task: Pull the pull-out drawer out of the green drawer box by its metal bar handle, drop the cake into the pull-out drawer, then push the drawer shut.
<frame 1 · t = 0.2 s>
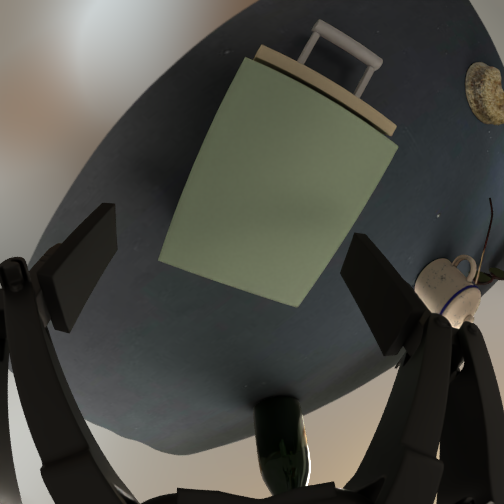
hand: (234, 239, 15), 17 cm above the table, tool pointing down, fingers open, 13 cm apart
cake: (483, 92, 25), on the table
pull-out drawer: (295, 137, 24), point 5 cm above the table, slide at 0.5 cm
green wine bottle: (276, 405, 55), on the table
green drawer box: (265, 173, 30), on the table
teacup with lid: (436, 271, 40), on the table
sunglasses: (494, 235, 38), on the table
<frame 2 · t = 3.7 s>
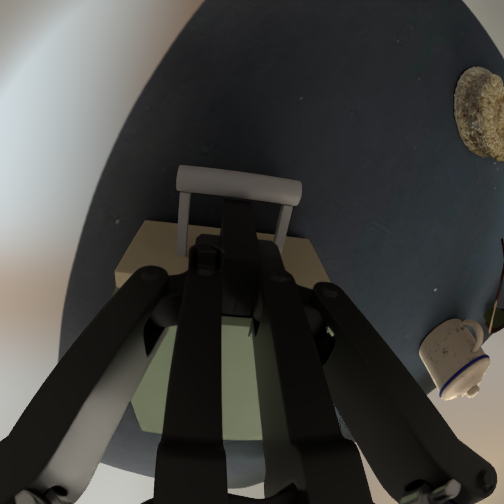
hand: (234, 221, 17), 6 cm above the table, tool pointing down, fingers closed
cake: (481, 111, 18), on the table
pull-out drawer: (219, 316, 22), point 5 cm above the table, slide at 1.1 cm, touching gripper
green drawer box: (214, 325, 29), on the table
teacup with lid: (443, 330, 34), on the table
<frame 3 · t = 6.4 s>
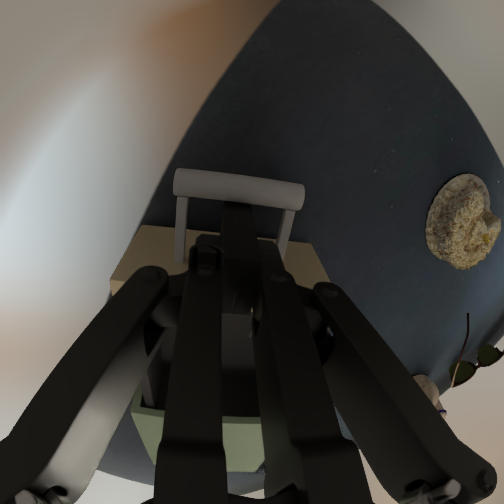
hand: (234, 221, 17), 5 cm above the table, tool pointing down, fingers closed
cake: (457, 217, 23), on the table
pull-out drawer: (218, 323, 21), point 5 cm above the table, slide at 13.1 cm, touching gripper
green drawer box: (207, 392, 34), on the table
teacup with lid: (408, 383, 39), on the table
sunglasses: (479, 329, 34), on the table
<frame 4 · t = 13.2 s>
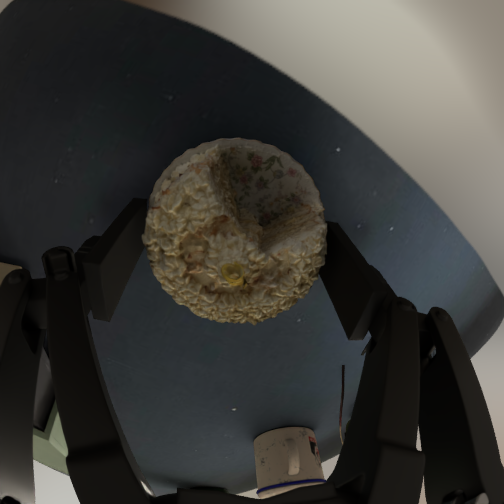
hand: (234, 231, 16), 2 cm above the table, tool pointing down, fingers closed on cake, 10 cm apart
cake: (234, 225, 16), point 1 cm above the table, touching gripper
green wine bottle: (208, 489, 51), on the table
green drawer box: (49, 398, 27), on the table
teacup with lid: (284, 433, 33), on the table
when the fingers open (9 cm above the table, at t = 19.6 s): cake drops 6 cm, resting on pull-out drawer.
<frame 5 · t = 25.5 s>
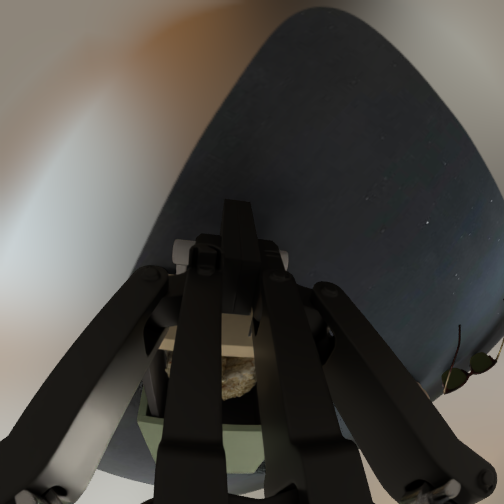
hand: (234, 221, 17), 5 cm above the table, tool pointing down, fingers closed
cake: (212, 351, 27), point 2 cm above the table, touching pull-out drawer
pull-out drawer: (215, 356, 24), point 5 cm above the table, slide at 11.1 cm, touching cake, gripper
green drawer box: (208, 398, 35), on the table
sunglasses: (471, 338, 36), on the table
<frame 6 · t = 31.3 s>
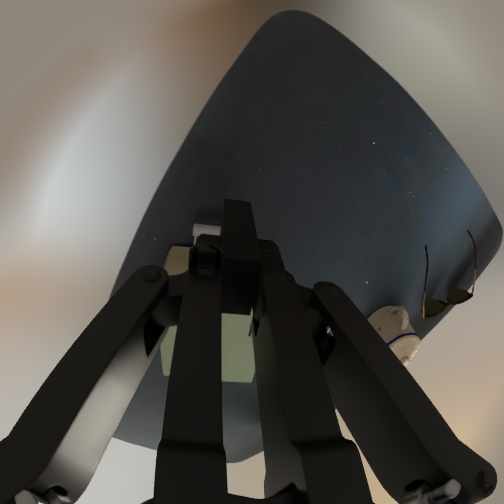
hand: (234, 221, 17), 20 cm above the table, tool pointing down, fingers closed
pull-out drawer: (214, 299, 40), point 5 cm above the table, slide at 0.0 cm, touching cake
green drawer box: (212, 303, 46), on the table
teacup with lid: (383, 314, 51), on the table
sunglasses: (443, 267, 47), on the table
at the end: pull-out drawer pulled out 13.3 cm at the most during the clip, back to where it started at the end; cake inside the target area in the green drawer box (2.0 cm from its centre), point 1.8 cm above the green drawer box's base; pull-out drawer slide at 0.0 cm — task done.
